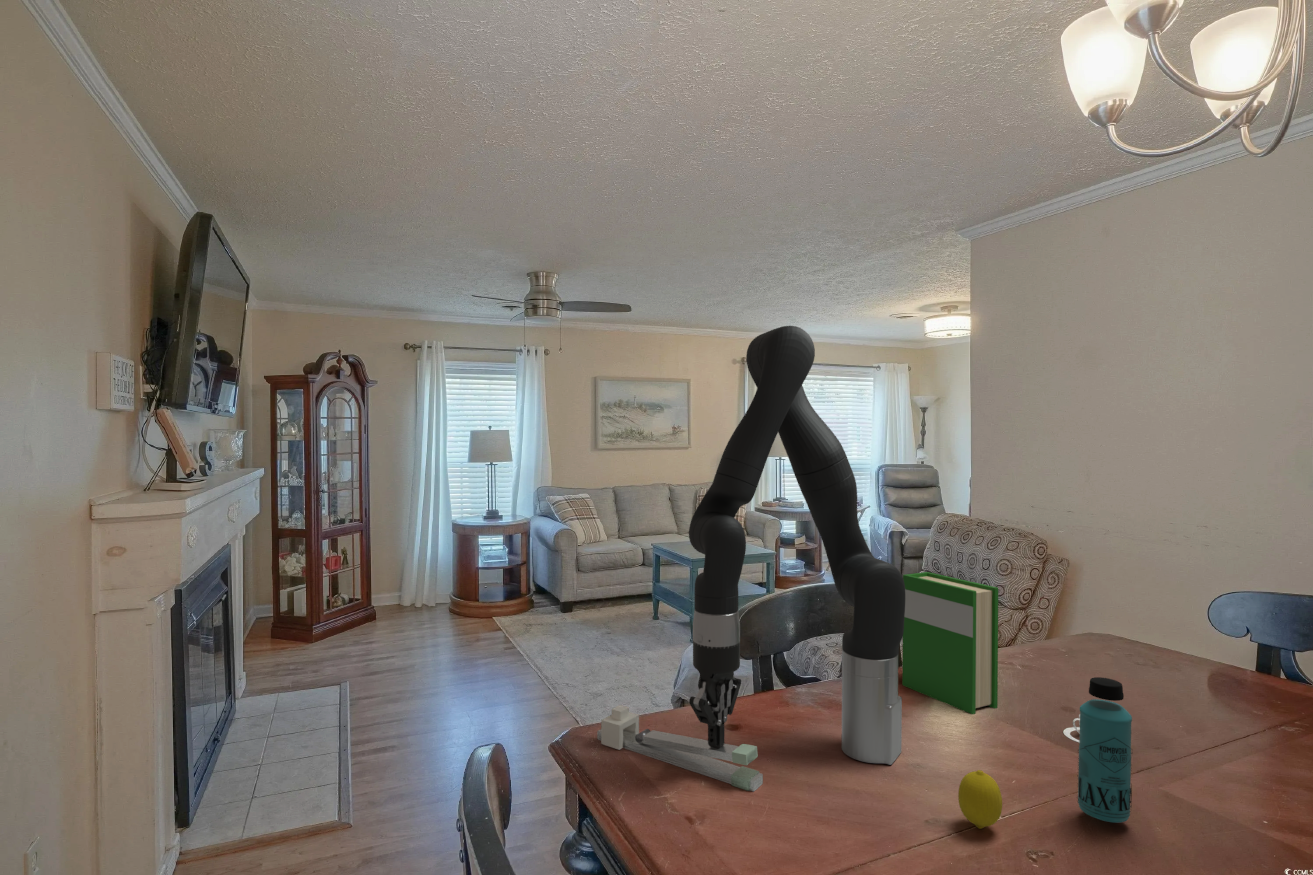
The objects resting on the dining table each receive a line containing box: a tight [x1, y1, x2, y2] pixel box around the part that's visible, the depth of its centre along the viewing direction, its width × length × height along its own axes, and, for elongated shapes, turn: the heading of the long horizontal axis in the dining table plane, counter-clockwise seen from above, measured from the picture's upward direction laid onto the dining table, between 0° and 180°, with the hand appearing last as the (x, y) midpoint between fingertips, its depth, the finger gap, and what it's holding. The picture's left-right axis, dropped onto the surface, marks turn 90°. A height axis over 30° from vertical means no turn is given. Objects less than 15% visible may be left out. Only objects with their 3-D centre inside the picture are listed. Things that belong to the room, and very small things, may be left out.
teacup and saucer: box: [1063, 714, 1080, 743], centre depth 126 cm, size 9×8×4 cm
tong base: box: [596, 728, 764, 792], centre depth 116 cm, size 31×4×3 cm, turn 55°
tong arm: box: [642, 729, 758, 766], centre depth 114 cm, size 20×4×2 cm, turn 55°
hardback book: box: [901, 571, 999, 715], centre depth 145 cm, size 18×7×24 cm, turn 27°
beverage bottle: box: [1076, 676, 1133, 824], centre depth 98 cm, size 6×7×20 cm
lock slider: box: [600, 704, 640, 751], centre depth 123 cm, size 4×6×6 cm
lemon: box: [957, 769, 1003, 830], centre depth 97 cm, size 6×6×8 cm
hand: (716, 745), depth 112 cm, fingers closed
